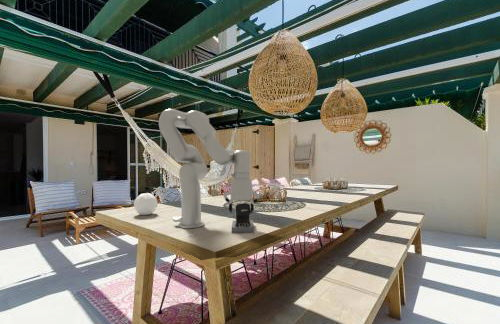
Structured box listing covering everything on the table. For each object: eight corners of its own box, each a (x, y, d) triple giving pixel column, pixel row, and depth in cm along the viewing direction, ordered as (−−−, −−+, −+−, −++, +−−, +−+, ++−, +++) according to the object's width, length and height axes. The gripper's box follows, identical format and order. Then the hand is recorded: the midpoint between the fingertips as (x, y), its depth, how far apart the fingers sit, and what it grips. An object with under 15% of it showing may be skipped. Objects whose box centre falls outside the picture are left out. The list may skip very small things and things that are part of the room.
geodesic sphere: (147, 201, 169) (138, 186, 161) (165, 202, 166) (157, 187, 157) (135, 219, 158) (125, 203, 150) (154, 220, 155) (145, 204, 147)
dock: (231, 233, 117) (231, 227, 117) (233, 225, 130) (232, 220, 130) (253, 232, 117) (253, 227, 117) (253, 225, 130) (252, 220, 130)
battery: (238, 229, 120) (237, 204, 120) (235, 227, 124) (234, 203, 124) (251, 227, 123) (251, 203, 123) (248, 225, 127) (247, 202, 127)
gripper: (223, 176, 119) (222, 213, 120) (260, 177, 120) (259, 214, 120) (224, 175, 127) (223, 210, 127) (259, 176, 127) (258, 210, 128)
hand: (241, 212), depth 124 cm, fingers open, 9 cm apart
